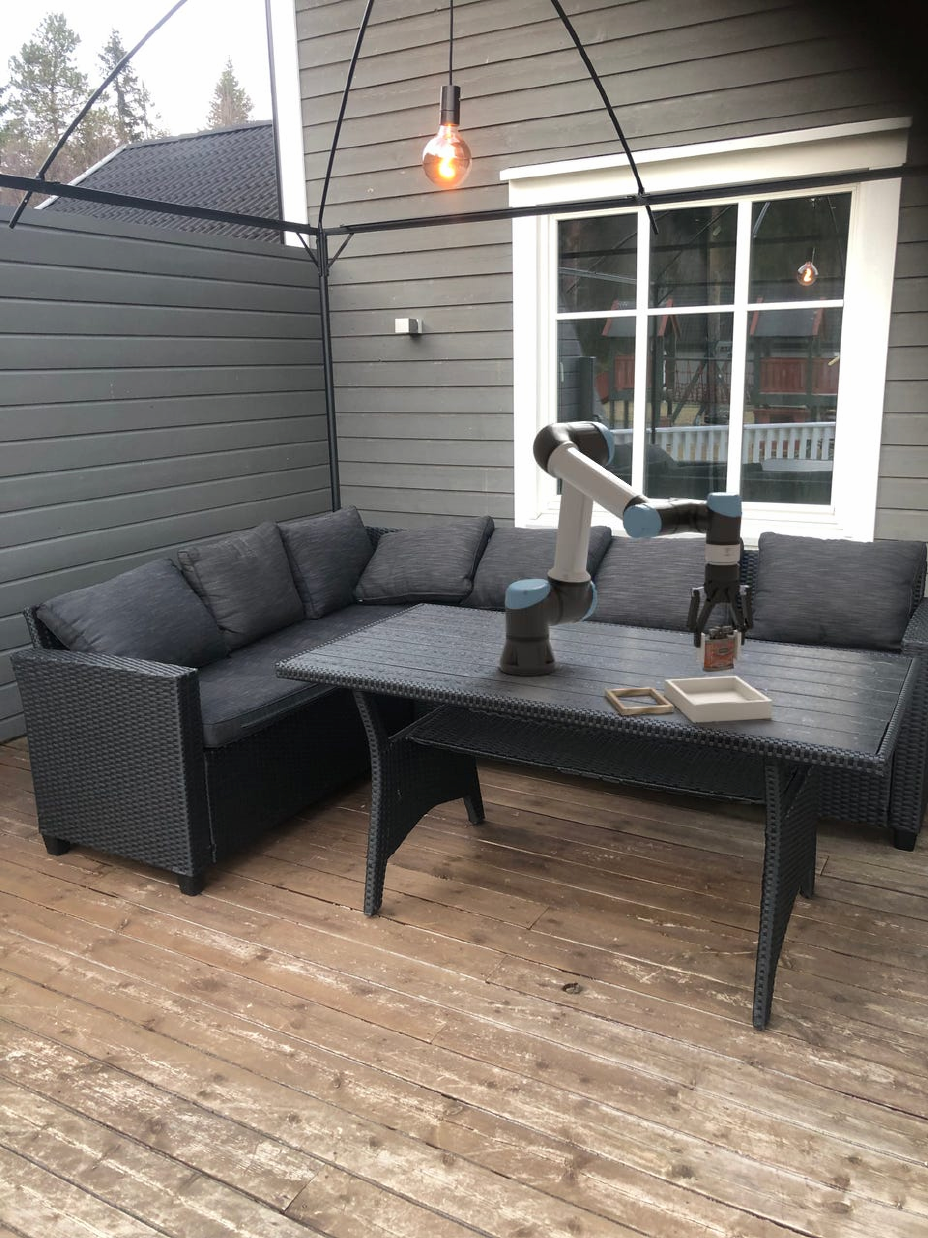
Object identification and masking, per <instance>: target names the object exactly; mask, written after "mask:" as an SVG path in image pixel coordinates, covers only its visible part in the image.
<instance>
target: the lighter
mask: <svg viewBox="0 0 928 1238" xmlns="http://www.w3.org/2000/svg"><path fill="white" fill-rule="evenodd" d="M728 633H733V627H732V626H731V625H728V626H727V625H726V626H722V627H720V626H714V628H710V629H709V628H708V636H709V637H708V636H707V637H705V657H704V662H703V666H702V672H705V673H718V672H724V671H729V670H730V671H731V670H734V668H735V664H734V658H733V656H734V640H735V636H733V635H732V634H728Z"/></svg>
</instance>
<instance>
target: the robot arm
mask: <svg viewBox="0 0 928 1238" xmlns="http://www.w3.org/2000/svg"><path fill="white" fill-rule="evenodd" d="M615 447H616V446H615V440H614V437H613V435H612V433H610V430H609V428H608V427H607V426H606V425H604V424H603V423H600V422H597V421H587V420H584V421H572V422H571V421H570V422H555V423H554V422H553V423H550V424H547V425H546V426H544V427H543V428H541V429H540V430H539V432H538V433H537V434H536V436H535V438H534V440H533V444H532V454H533V457H534V458H533V459H534V460H535V463H537V465H538V467H540V468H541V470H542V471H544V472H545V473H546V474H548V475H549V476H550V477H552V478H554V479H562V481H561V483H562V484H561V492H560V502H559V503H560V504H559V513H558V521H557V522H558V523H557V533H556V535H557V536H556V544H555V554H554V563H553V564H554V565H553V567H552V568H551V569H550V570H548V571H547V577H546V579H542V578H531V579H522V580H518V581H515V582H513V583H511V584H510V585H508V586H507V588H506V590H505V599H504V607H505V610H504V611H505V613H504V614H505V642H504V645H503V648H502V651H501V655H500V657H499V661H498V662H499V663H498V664H499V666H498V669H499V668H500V669H499V670H500V671H501V672H502V671H503V672H502V673H504V672H505V673H504V674H507V673H508V674H507V675H511V674H512V675H513V676H517V677H518V676H519V677H533V676H534V677H536V676H543V675H547V674H551V673H553V672H555V671H556V669H557V666H556V665H557V660H556V656H555V653H554V651H553V647H552V643H551V642H550V633H551V632H550V631H551V629H550V627H554V626H555V627H556V626H561V625H564V624H571V623H572V624H573V623H577V622H579V621H583V620H586V619H587V618H589V617H590V616H591V615H592V614H593V613H594V611H595V610H596V607H597V604H598V591H597V590H596V585H595V583H594V582H593V581H592V580H591V577H592V576H591V574H590V573H589V572H588V571H587V562H588V553H589V547H590V546H589V545H590V535H591V527H592V517H593V508H594V502H595V503H596V504H597V505H599V506H601V507H602V508H603V509H605V510H607V511H608V512H610V513H611V514H612V515H613V516H615V517H616V518H618V519H619V520H620V521H622V527H623V529H624V530H625V532H626V534H627V535H628V536H629V537H631V538H633V539H642V540H643V539H645V540H646V539H652V538H657V537H662V536H670V535H677V534H684V533H692V534H693V533H694V534H695V533H697V534H701V535H702V534H703V535H705V552H704V555H705V556H704V560H705V561H707V562H705V564H704V583H703V584H702V586H701V587H697V588H696V587H691V588H690V591H689V592H690V596H691V598H690V599H691V600H690V603H689V604H690V605H689V609H688V612H687V613H688V614H687V619H686V625H685V629H686V630H687V631H689V632H690V633H693V647H695V648H696V649H697V650H696V660H697V661H699V662H700V663H702V664H704V657H705V638H706V634H705V633H703V632H704V629H705V627H706V624H707V623H708V620H709V618H710V616H711V613H712V611H713V609H714V608H715V607H716V605H717V604H723V603H724V604H727V606H728V608H729V611H730V615H731V617H732V620H733V621H734V624H735V626H736V630H734V629H733V632H732V633H733V636H735V640H734V656H733V660H735V661H736V662H739V661H741V656H742V655H741V652H742V651H741V650H742V648H741V647H742V646H744V645H745V640H746V633H748V630H752V629H754V626H755V624H754V617H753V608H752V600H751V595H752V592H753V588H752V587H751V586H749V585H746V584H744V585H741V584H740V582H739V581H740V564H739V563H738V562H739V561H740V558H741V528H742V520H743V519H742V518H743V508H742V506H743V504H742V501H743V500H742V497H741V495H740V494H739V493H737V492H725V491H724V492H718V491H717V492H710V493H709V494H708V495H707V497H706V500H702V499H701V500H700V499H690V498H686V497H680V498H679V497H677V498H676V497H675V498H671V499H669V500H667V501H660V502H655V501H654V500H652V499H650V498H648V497H647V496H645V495H644V494H642V493H641V492H640V491H638V490H637V489H635V488H633V487H632V486H631V485H629V484H628V483H626V482H625V481H624V480H622V479H620V478H618V477H617V476H616V475H614V474H613V473H612V472H610V471H609V470H606V469H605V467H607V466H608V465H610V462H612V461H613V459H614V456H615V450H616V449H615ZM738 592H739V594H740V599H741V607H742V614H743V615H741V611H740V609H739V606H738V602H737V599H736V596H737V594H738ZM703 593H704V594H705V595H706V598H705V600H704V601H703V602H704V603H703V607H702V609H701V611H700V613H699V610H700V609H699V608H700V604H701V598H702V596H703ZM698 613H699V615H698ZM742 616H743V617H742ZM512 675H511V676H512Z"/></svg>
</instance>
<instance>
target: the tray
mask: <svg viewBox="0 0 928 1238" xmlns="http://www.w3.org/2000/svg"><path fill="white" fill-rule="evenodd" d="M663 694H664V695H663V697H664V698H666V699H667V700H668V701H669V702H670V703H671V704H672V705H673V706H674V707H676V708H677V709H678V708H679V709H680V710H681V712H682V713H683V714H684V715H685V716H686V717H687V718H688V719H689V720H690V721H691V722H692V723H693V724H694V723H696V722H697V723H713V721H714V722H726V721H727V722H728V721H743V720H745V721H746V720H760V719H761V720H762V719H763V720H765V719H772V712H773V711H772V709H773V700H772V699H770V698H769V697H767V696H766V695H764V694H763V693H761V692H760V691H759V690H757V689H755V687H753V686H751V685H750V684H748V683H747V682H746V681H745V680H743V679H742V678H740V677H739V676H737V675H730V676H729V675H727V676H710V677H709V676H708V677H690V678H676V679H675V678H673V679H672V678H671V679H664V691H663ZM679 709H678V710H679ZM680 710H679V711H680ZM697 723H696V724H697Z"/></svg>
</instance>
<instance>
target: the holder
mask: <svg viewBox="0 0 928 1238" xmlns="http://www.w3.org/2000/svg"><path fill="white" fill-rule="evenodd" d="M604 692H605V693H604V697H606V698H607V700H608V701H609V702H610V703H611V704H612V706H614V707H615V709H616V710H617V709H618V710H619V713H620V714H621V715H622V716H632V715H631V714H638V715H645V714H644V713H655V714H666V713H665V712H673V713H674V711H675V708H674V707H675V705H674V704H673V703H672V702H671V701H670V700H669V699H667V698H666V697H665V696H664V695H662V693H660V692H659V691H658V690H657V689H656V688H655V687H654V686H650V687H648V686H647V687H634V688H633V687H631V688H630V687H629V688H613V689H609V688H608V689H605V690H604ZM645 695H650V696H652V697H653V698H654V699H655V701H656V702H657V703H658V704H660V705H649V706H648V705H646V706H627V707H626V706H625V705H624V704H623V703H622V701H620V699H619V697H626V696H627V697H628V696H645ZM618 710H617V711H618Z"/></svg>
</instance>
